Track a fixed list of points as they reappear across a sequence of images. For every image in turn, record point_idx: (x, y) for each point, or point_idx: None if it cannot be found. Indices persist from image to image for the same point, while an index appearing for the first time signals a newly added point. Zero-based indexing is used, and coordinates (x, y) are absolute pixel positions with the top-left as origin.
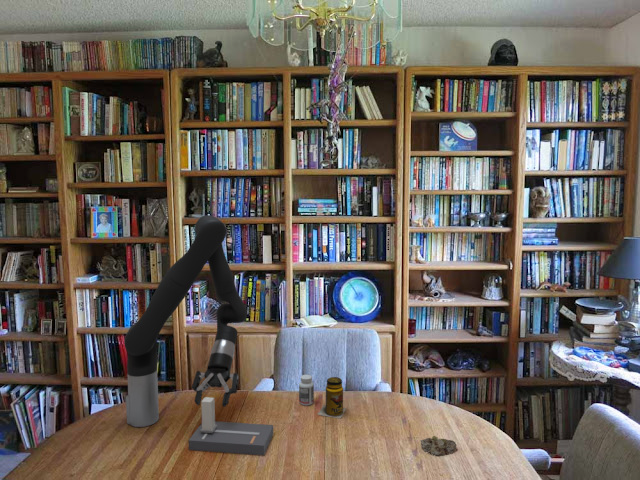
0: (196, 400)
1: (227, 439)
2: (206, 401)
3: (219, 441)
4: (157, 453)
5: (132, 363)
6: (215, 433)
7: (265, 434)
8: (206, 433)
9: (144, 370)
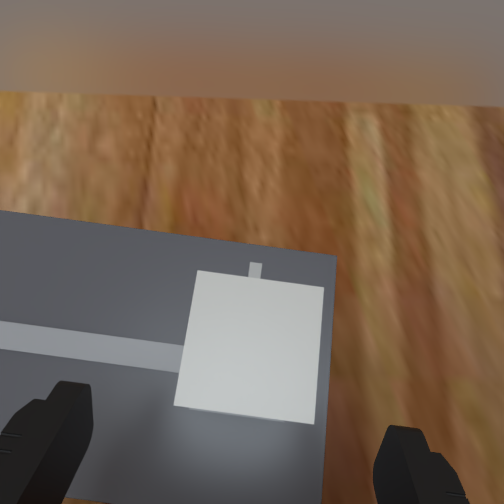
0: (422, 446)
1: (105, 262)
2: (258, 290)
3: (151, 242)
4: (467, 245)
5: None
6: None
7: None
8: None
9: None
